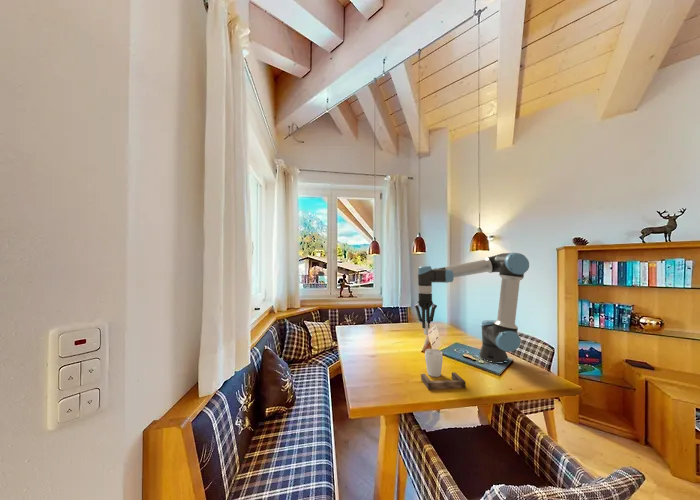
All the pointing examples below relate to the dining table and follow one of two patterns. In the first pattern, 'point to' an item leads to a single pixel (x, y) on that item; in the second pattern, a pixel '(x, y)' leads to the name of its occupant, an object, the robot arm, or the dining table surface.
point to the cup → (433, 362)
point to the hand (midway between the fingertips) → (426, 333)
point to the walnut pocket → (444, 382)
